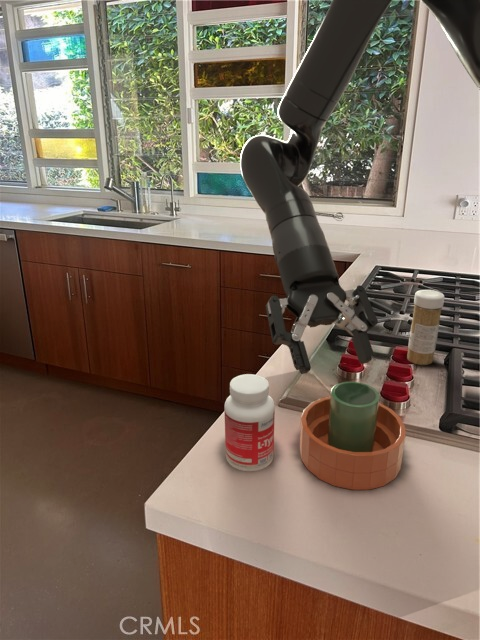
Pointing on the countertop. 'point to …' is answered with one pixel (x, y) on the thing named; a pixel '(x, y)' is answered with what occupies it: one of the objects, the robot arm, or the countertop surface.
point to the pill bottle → (249, 423)
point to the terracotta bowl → (348, 465)
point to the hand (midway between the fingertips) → (336, 366)
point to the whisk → (331, 216)
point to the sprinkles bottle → (424, 326)
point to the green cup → (353, 417)
